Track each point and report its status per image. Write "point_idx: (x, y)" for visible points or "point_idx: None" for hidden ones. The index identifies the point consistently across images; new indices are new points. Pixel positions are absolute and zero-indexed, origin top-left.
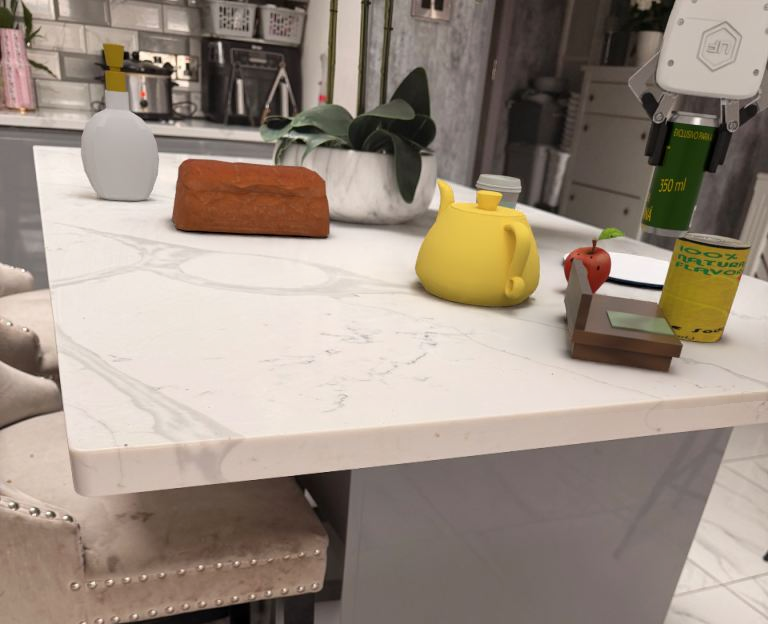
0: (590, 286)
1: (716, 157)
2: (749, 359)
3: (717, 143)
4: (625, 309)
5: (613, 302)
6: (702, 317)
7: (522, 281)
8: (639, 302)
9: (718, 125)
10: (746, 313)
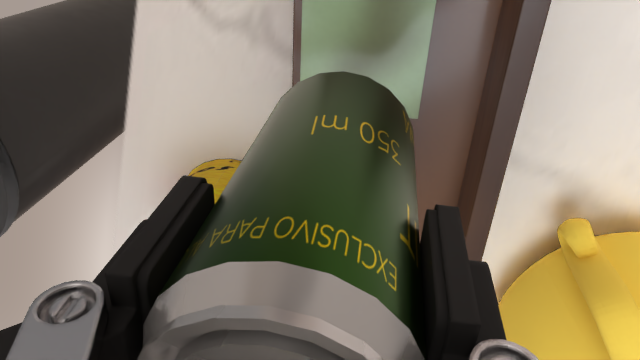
0: None
1: (177, 202)
2: (145, 88)
3: (165, 243)
4: None
5: None
6: (214, 180)
7: (575, 239)
8: None
9: (146, 325)
10: None
